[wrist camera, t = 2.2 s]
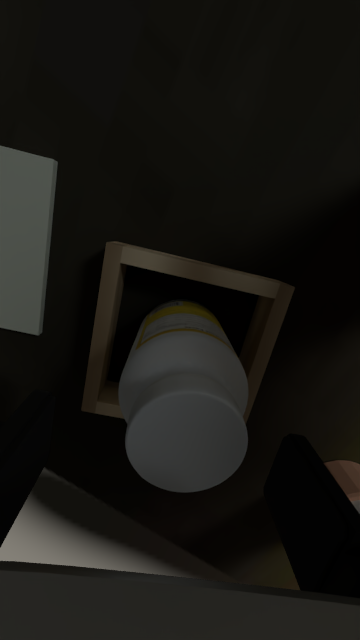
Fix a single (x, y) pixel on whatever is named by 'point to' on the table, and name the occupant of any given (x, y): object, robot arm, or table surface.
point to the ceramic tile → (25, 237)
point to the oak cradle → (117, 255)
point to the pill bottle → (183, 400)
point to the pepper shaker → (347, 479)
